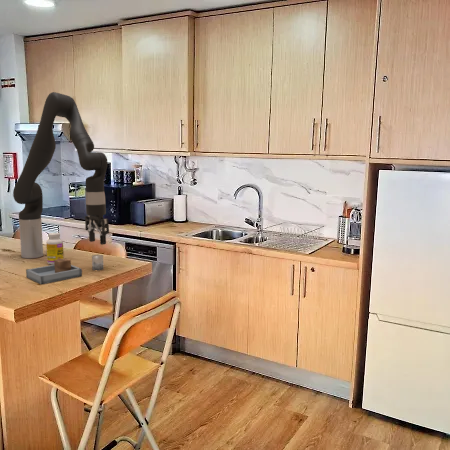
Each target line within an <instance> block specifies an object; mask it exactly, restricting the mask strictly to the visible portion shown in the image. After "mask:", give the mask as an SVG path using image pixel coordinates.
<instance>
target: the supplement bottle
mask: <svg viewBox="0 0 450 450" xmlns="http://www.w3.org/2000/svg"><path fill="white" fill-rule="evenodd" d="M47 237H48V239H47V240H46V243H45V244H46V261H47V264H48V265H55V264H54V260H57V259H63V258H65V256H64V255H65V254H64V240H63V239H62V238H61V233H60V232H49V233H48V236H47Z"/></svg>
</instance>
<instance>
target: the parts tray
mask: <svg viewBox="0 0 450 450" xmlns="http://www.w3.org/2000/svg"><path fill="white" fill-rule="evenodd" d="M25 276H26V278H27V279H29V280H30V281H33V282H35V283H37V284H39V285H46V284H51V283H55V282H61V281H65V280H70V279H76V278H81V277H83V270H82V268H81V267H79V266H76V265H74V264H71V270H68V271H63V272H58V273H55V265H52V264H49V265H44V266H39V267H34V268H28V269H25Z"/></svg>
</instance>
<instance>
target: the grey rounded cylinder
mask: <svg viewBox="0 0 450 450" xmlns="http://www.w3.org/2000/svg"><path fill="white" fill-rule="evenodd" d="M91 266H92V267H91V269H92V271H95V270H97V271H98V272H99V271H103V270H104V255H103V254H93V255H92V256H91ZM97 271H96V272H97Z"/></svg>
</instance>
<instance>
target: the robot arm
mask: <svg viewBox="0 0 450 450" xmlns="http://www.w3.org/2000/svg"><path fill="white" fill-rule="evenodd" d="M57 117H60V118H65V119H66V120H67V121H68V123H69V124H70V129H69V136H70V140H71V142H72V144H73V147H75V149H76V151H77V156H78V161H79V162H78V163H79V165H80V167H81V168H82V169H83V170H85V171H89V172H90V171H94V173H93V174H92V175H90V176H88V177H86V179H85V210H86V215H85V217H84V218H85V219H84V220H85V221H84V222H85V223H84V224H85V225H84V226H85V227H84V228H85V231H87V232H88V235H89V236H88V240H89V242H90V243H92V242H95V241H96V233H95V231H97V232H98V233H99V242H100V243H99V244H100V245H102V246H103V245H107V235H109V234H110V230H109V229H110V226H109V218H104V215H106V214H107V208H106V205H107V204H106V194H105V178H106V172H107V170H108V169H107V168H108V158H107V155H106V154H105V153H103V152H101V151H100V152H99V151H94V149H95V144H94V141H93V140H92V138H91V136H90V135H89V133H88V131H87V129H86V127H85V126H84V122H83V120H82V117H81V114H80V111H79V108H78V105H77V103H76V101H75V99H74V98H73V97H72V96H69V95H66V94H63V93H59V92H55V91H53V92H50V93H49V94H48V95H47V97H46V99H45V102H44V106H43V109H42V113H41V117H40V121H39V124H38V128H37V129H36V133H35V136H34V139H33V142H32V143H31V147H30V150H29V152H28V156H27V157H26V161H25V163H24V166H23V168H22V170H21V173H20V175H19V177H18V179H17V181H16V183H15V186H14V187H13V191H12V192H13V193H12V197H13V199H14V202H15V203H17V204H19V205H24V207H23V209H22V210H21V211H19V212H18V225H19V240H20V255H21V258H23V259H37V258H41V257H43V256H44V243H43V242H44V241H43V228H42V214H43V207H44V206H43V204H44V203H43V201H44V200H43V199H44V197H43V188H42V187H41V185H40V184H39V183H38V182H36V180H37V178H38V177H39V176H40V174H41V173H42V172H43V171H44V170H45V169H46V168H47V167H48V166H49V164H50V163H51V161H52V159H53V156H54V154H55V152H56V147H57V146H56V139H55V134H54V130H53V129H54V128H53V127H54V123H55V120H56V118H57Z"/></svg>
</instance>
